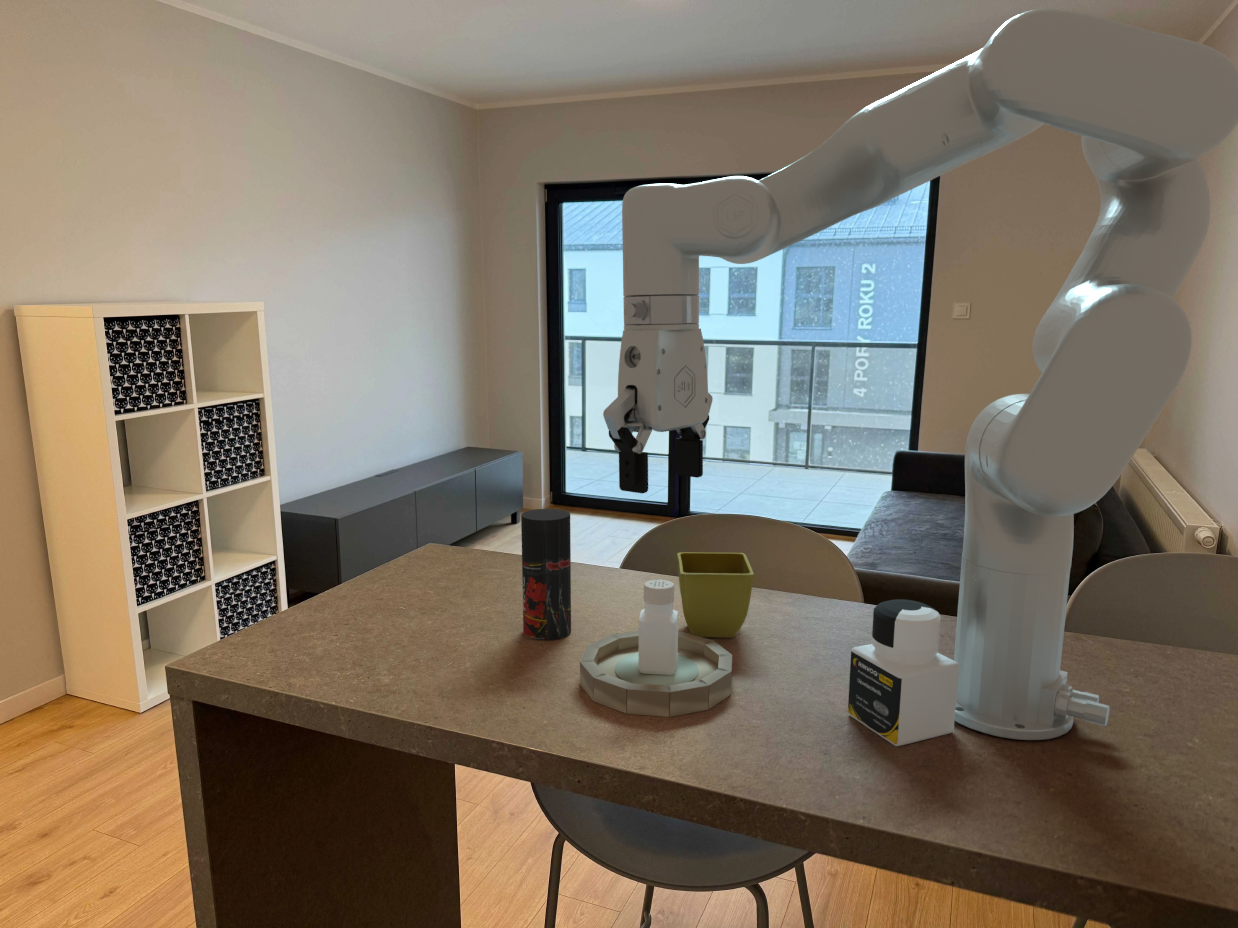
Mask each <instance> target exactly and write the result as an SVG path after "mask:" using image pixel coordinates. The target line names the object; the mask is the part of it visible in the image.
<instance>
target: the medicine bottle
mask: <svg viewBox="0 0 1238 928" xmlns="http://www.w3.org/2000/svg"><path fill="white" fill-rule="evenodd" d="M872 615H873V616H872V632H871V634H872V635H871V643H870V644H865V645H859V646H853V647H852V648H851V650H850V665H849V666H850V667H849V685H848V699H847V700H848V701H847V702H848V704H847V714H848V715H849V717H851V718H853V719H854V720H856V721H857V722H859V723H860V724H862V725H864V726H865V727H866V728H867V729H869V730H871V731H872V732H874V733H875V734H876V735H878V736H880V737H881V738H882V739H884V741H887V742H888V743H890V744H891V745H893V746H894V747H901V746H905V745H908V744H913V743H916V742H920V741H925V740H928V739H932V738H937V737H940V736H945V735H948V734H949V735H950V734H952V733H953V732H954V731H955V723H956V721H955V709H956V697H957V684H958V671H959V664H958V663H957V662H956V661H954V659H951V658H949V657H947V656H946V655H944V654H941V653H939V645H940V635H941V633H940V632H941V622H942V621H941V620H942V616H941V614H940V613H939V611H938V610H936V609H935V608H934V607H932V606H930V605H928V604H926V603H924V602H921V601H917V600H911V599H901V598H899V599H896V598H895V599H891V600H890V599H888V600H886V601H882V602H879V603H878V604H877V605H876V606H875V607H873V613H872Z"/></svg>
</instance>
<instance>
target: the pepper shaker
mask: <svg viewBox="0 0 1238 928" xmlns="http://www.w3.org/2000/svg"><path fill="white" fill-rule="evenodd" d="M643 602H644V608H643V609H641V610H640V613H639V617H638V631H639V660H638V668H639V670H640V672H641V673H644V674H662V675H672V674H674V673H675V671H676V667H677V660H678V632H679V611H678V610H675V609H674V603H675V584H674V582H672V581H670V580H667V579H666V580H665V579H651V580H647V581H645V582H644V584H643Z"/></svg>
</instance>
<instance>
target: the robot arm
mask: <svg viewBox="0 0 1238 928" xmlns="http://www.w3.org/2000/svg"><path fill="white" fill-rule="evenodd" d="M1044 125H1046V126H1049V127H1052V128H1055V129H1057V130H1061V131H1065V132H1066V133H1069V134H1074V135H1077V136H1081V141H1080V142H1081V150H1082V153H1083V156H1084V159H1085V161H1086V163H1087V166H1088V167H1089V168H1090V169H1089V170H1090V171H1091V173H1092V174H1093V176H1094V177H1095V180H1096V182H1097V185H1098V189H1099V194H1100V210H1099V213H1098V217H1097V220H1096V223H1095V225H1094V227H1093V230H1092V231H1091V233H1090V235H1089V238H1088V240H1087V241H1086V244H1085V246H1084V247H1083V250H1082V252H1081V254H1080V255H1079V257H1078V259H1077V260H1076V261H1075V263H1074V265H1073V266H1072V269H1071V271H1070V272H1069V273H1068V276H1067V278H1066V279H1065V281H1064V283H1062V286H1061V287H1060V290H1058V293H1057V295H1056V296H1055V297H1054V299H1053V301H1052V302H1051V304H1050V305H1049V307H1048V308H1047V310H1046V312H1045V313H1044V314H1043V316H1042V318H1041V319H1040V321H1039V323H1038V325H1037V327H1036V329H1035V333H1034V336H1033V339H1032V346H1031V349H1032V351H1031V352H1032V356H1033V357H1032V358H1033V359H1034V363H1035V365H1036V367H1037V369H1038V370H1039V371H1040V375H1039V377H1038V379H1037V380H1036V383H1034V386H1033V387H1032V389H1031V391H1030V393H1017V394H1016V393H1015V394H1010V395H1006V396H1003V397H1001V398H998V399H996V400H995V401H993V402H991V403H990V404H988V405H987V406H985V408H983V409H982V410H981V411H980V413H978V414H977V416H976V417H975V419H974V420H973V422H972V424H971V426H970V427H969V428H970V429H969V430H968V431H969V432H968V433H967V437H966V443H965V451H964V484H965V487H964V489H965V492H964V493H965V494H964V495H965V496H964V497H965V503H964V504H965V507H964V508H965V509H964V529H963V543H962V554H961V563H960V564H961V565H960V575H959V576H960V580H959V590H958V603H957V618H956V630H955V639H954V641H955V642H954V652H953V653H954V655H953V660H954V661H956V662H957V663H958V664H959V671H958V684H957V697H956V709H955V723H958V724H959V725H962V726H964V727H966V728H969V729H971V730H974V731H976V732H979V733H983V734H985V735H991V736H995V737H998V738H1006V739H1011V740H1020V741H1021V740H1022V741H1041V740H1050V739H1055V738H1059V737H1061V736H1062V735H1063V736H1064V735H1065V734H1067V733H1068V732H1070V730H1072V727H1073V725H1074V718H1077V719H1080V720H1084V722H1087V723H1093V724H1095V725H1099V726H1103V727H1107V725H1108V722H1109V721H1108V720H1109V715H1110V705H1108V704H1104V703H1100V695H1099V694H1094V693H1091V692H1087V691H1079V690H1076V689H1073V686H1072V685H1069V684H1067V682H1068V681H1067V680H1068V671H1064V670H1061V664H1062V663H1061V662H1062V653H1063V645H1064V644H1063V643H1064V635H1065V634H1064V632H1065V623H1066V616H1067V615H1066V613H1067V605H1068V604H1067V603H1068V596H1069V595H1068V594H1069V584H1070V574H1071V568H1072V558H1073V551H1074V532H1075V531H1074V530H1075V529H1074V528H1075V525H1074V522H1075V521H1074V520H1075V519H1074V514H1078V513H1080V512H1082V511H1084V510H1086V509H1088V508H1090V507H1091V506H1093V505H1094V504H1095V503H1097V502H1098V501H1100V499H1102V498H1104V496H1105V495H1106V494H1107V493H1108V491H1110V490H1111V488H1112V487H1113V486H1114V484H1116V481H1118V479H1119V478H1120V477H1121V475H1122V473H1123V472H1124V471H1125V470H1126V468H1127V466H1128V464H1129V463H1130V461H1131V460H1132V458H1133V457H1134V455H1135V454H1136V452H1137V451H1138V449H1139V448H1140V446H1141V444H1142V443H1143V441H1144V440H1145V438H1146V437H1147V435H1148V433H1149V431H1150V430H1151V429H1152V427H1153V426H1154V424H1155V423H1156V421H1157V420H1158V417H1159V416H1160V415H1161V413H1162V411H1163V409H1164V408H1165V407H1166V405H1167V403H1168V402H1169V400H1170V399H1171V397H1172V396H1173V393H1174V392H1175V391H1176V389H1177V387H1178V386H1179V384H1180V382H1181V380H1182V378H1183V376H1184V374H1185V371H1186V369H1187V367H1188V363H1189V359H1190V356H1191V352H1192V340H1193V339H1192V337H1193V336H1192V329H1191V328H1192V327H1191V324H1190V321H1189V319H1188V317H1187V314H1186V312H1185V311H1184V309H1183V307H1182V306H1181V305H1180V304H1179V303H1178V302H1177V300H1175V297H1176V295H1177V293H1178V292H1179V290H1180V288H1181V286H1182V285H1183V283H1184V281H1185V279H1186V277H1187V275H1188V273H1189V272H1190V270H1191V268H1192V266H1193V265H1194V262H1195V261H1196V259H1197V257H1198V255H1199V253H1200V251H1201V249H1202V246H1203V245H1204V241H1205V239H1206V236H1207V233H1208V228H1209V226H1210V219H1211V198H1210V191H1209V186H1208V181H1207V178H1206V174H1205V171H1204V168H1203V165H1202V162H1201V157H1203V156H1206V155H1207V154H1209V153H1210V152H1213V151H1214V150H1215V149H1216V148H1218V147H1219V146H1220V145H1221V144H1223V143H1224V141H1225V140H1226V139H1227V138H1228V137H1229V136H1230V135H1231V134H1232V132H1233V131H1235V129H1236V127H1237V125H1238V67H1237V66H1236V64H1235V62H1234V61H1232V59H1230V58H1229V57H1228V56H1226V55H1225V54H1224V53H1222V52H1221V51H1219V50H1217V49H1215V48H1213V47H1211V46H1210V45H1207V44H1204V43H1200V42H1198V41H1193V40H1190V39H1186V38H1183V37H1182V38H1181V37H1178V36H1175V35H1170V34H1167V33H1164V32H1163V33H1162V32H1159V31H1156V30H1155V31H1154V30H1150V29H1147V28H1144V27H1139V26H1135V25H1131V24H1128V23H1124V22H1120V21H1116V20H1112V19H1108V18H1104V17H1100V16H1096V15H1092V14H1088V13H1083V12H1078V11H1075V10H1067V9H1059V8H1038V9H1037V8H1036V9H1030V10H1028V11H1023V12H1022V13H1019V14H1017V15H1015V16H1013V17H1011V18H1009V19H1008V20H1006V21H1005V22H1004V23H1003V24H1002V25H1001V26H1000V27H998V28H997V30H996V31H995V32H994V33H993V34H992V35H991V36H990V38H989V39H988V41H987V42H986V44H985V45H984V46H983V47H982V48H980V49H979V50H977V51H975V52H973V53H972V54H969V55H967V56H964V58H962V59H961V58H960V59H959V60H956V61H955V62H954V63H952V64H949V65H947V66H945V67H943V68H942V69H940V70H937V71H935V72H934V73H932V74H930V75H928V76H926V77H923V78H922V79H919V80H918V81H916V82H913V83H911V84H910V85H907V86H905V87H903V88H902V89H899V90H897V91H895V92H894V93H891V94H889V95H887V96H885V97H883V98H880V99H879V100H876V101H875V102H872V103H870V104H869V105H867V106H865V107H864V108H862V109H861V110H859V111H858V112H856V113H855V114H853V116H851V117H850V118H849V119H848V120H846V121H845V122H844V123H843V124H842V125H841V126H840V127H839V128H838V129H836V131H835V132H834V133H833V134H832V135H831V136H830V137H828V138H827V139H826V140H825V141H824V142H823V143H822V144H820V145H818V147H816V148H814V149H813V150H811V151H810V152H809V153H807V154H805V155H804V156H803V157H801V158H799V159H797V160H796V161H793V163H791V164H788V165H787V166H785V167H783V168H782V169H779V170H777V171H775V172H773V173H771V174H769V175H767V176H765V177H763V178H761V179H759V180H758V179H755V178H753V177H749V176H746V175H745V176H744V175H732V176H726V177H721V178H716V179H710V180H705V181H702V182H701V181H700V182H694V183H688V184H679V183H678V184H677V183H650V184H642V185H638V186H634V187H632V188H630V189H628V190H627V191H626V192H625V194H624V196H623V198H622V204H621V206H622V207H621V212H622V213H621V222H622V223H621V224H622V227H621V228H622V229H621V230H622V231H621V232H622V233H621V234H622V237H621V238H622V286H623V287H622V289H623V291H622V292H623V293H622V295H623V298H622V299H623V330H622V336H621V342H620V350H619V359H618V374H617V375H618V376H617V396H616V398H615V399H614V400H613V401H612V402H611V403H610V404H609V405H608V406H607V407H606V408H604V410H603V414H602V415H603V416H602V417H603V419H604V421H605V424H606V426H607V429H608V437H609V438H610V439H611V441H612V442H613V444H614V445H613V446H614V450H615V451H616V452H618V481H619V482H618V485H619V486H618V487H619V489H620V490H621V492H622V491H623V492H629V493H636V494H647V493H648V491H649V453H648V452H644V449H645V447H646V445H647V442H649V441H648V440H649V439H650V436H651V434H652V432H653V431H654V432H657V433H663V432H671V431H676V432H677V434H678V437H676V438H674V439H675V440H674V444H675V445H674V449H675V450H674V452H675V453H674V454H675V456H674V458H675V459H674V461H675V463H674V464H675V466H674V467H675V470H674V472H675V475H677V476H681V477H688V478H689V477H690V478H701V477H702V476H703V474H704V468H703V467H704V465H703V464H704V440H705V438H706V437H707V432H706V431H707V430H706V427H707V425H708V423H709V420H710V411H711V407H712V403H713V399H714V398H713V395H711V394H710V393H709V386H708V385H709V383H708V369H707V367H708V366H707V358H706V348H705V343H704V337H703V331H702V329H701V328H700V256H701V257H712V258H714V257H715V258H720V259H722V260H724V261H726V262H729V263H731V264H737V265H746V264H751V263H755V262H758V261H760V260H762V259H764V258H767V257H769V256H771V255H773V254H776V253H777V252H780V251H782V250H784V249H785V248H788V247H790V246H792V245H795V244H797V243H799V242H801V241H803V240H806V239H808V238H810V237H812V236H814V235H816V234H818V233H820V232H822V231H825V230H826V229H828V228H831V227H832V226H834V225H836V224H838V223H840V222H843V221H845V220H847V219H849V218H850V217H853V216H856V215H858V214H861V213H863V212H867V211H868V210H871V209H872V210H873V209H874V208H876V207H879V206H881V205H883V204H885V203H887V202H888V201H891V200H892V199H894V198H896V197H898V196H900V195H902V194H905V193H907V192H910V191H911V190H914V189H915V188H917V187H920V186H922V185H924V184H925V183H926V184H927V183H928V182H930V181H932V180H934V179H936V178H939V177H940V176H942V175H945V174H947V173H949V172H951V171H953V170H955V169H957V168H960V167H961V166H964V165H966V164H969V163H970V162H973V161H975V160H977V159H979V158H982V157H984V156H986V155H988V154H990V153H993V152H994V151H997V150H999V149H1002V148H1004V147H1006V146H1008V145H1010V144H1012V143H1014V142H1016V141H1018V140H1020V139H1022V138H1024V137H1026V136H1028V135H1030V134H1032V133H1033V132H1034V131H1037V130H1038V129H1040V128H1042V127H1043V126H1044ZM633 433H637V434H636V436H635V435H633Z"/></svg>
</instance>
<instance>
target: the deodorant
mask: <svg viewBox="0 0 1238 928" xmlns="http://www.w3.org/2000/svg"><path fill="white" fill-rule="evenodd" d="M520 516H521V519H520V521H521V524H520V525H521V527H520V529H521V569H522V571H521V574H522V577H521V578H522V580H521V582H522V626H523V627H522V631H523V632H522V633H523V635H524V636H525V637H526V638H528V639H531V640H536V641H544V642H545V641H547V642H548V641H558V640H561V639H563V638H566V637H568V636H569V635H571V633H572V577H571V575H572V571H571V570H572V568H571V567H572V566H571V565H572V564H571V563H572V559H571V556H572V555H571V552H572V551H571V513H570V512H569V511H567V510H564V509H557V508H539V509H538V508H536V509H531V510H527V511H524V512H522V513H521V514H520Z"/></svg>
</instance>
